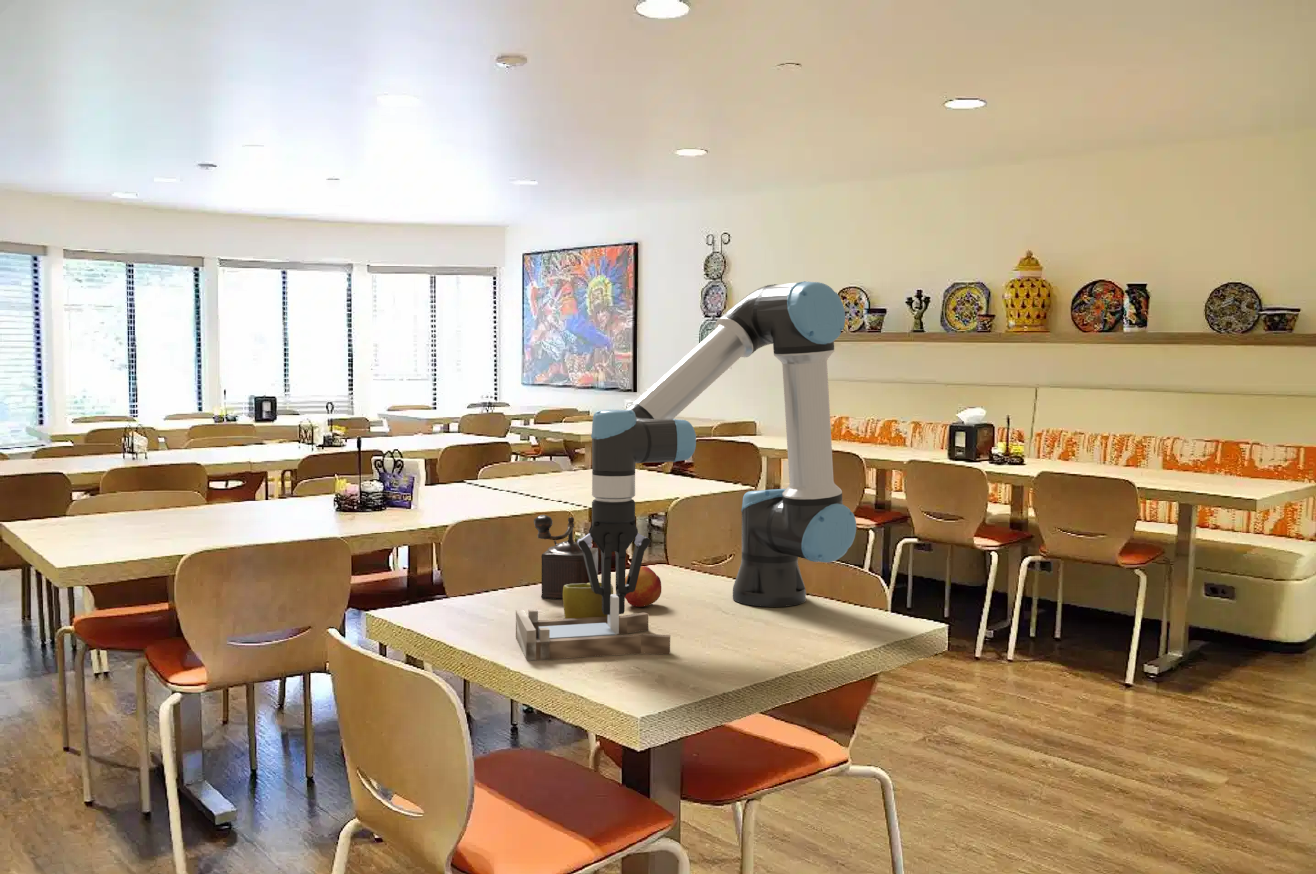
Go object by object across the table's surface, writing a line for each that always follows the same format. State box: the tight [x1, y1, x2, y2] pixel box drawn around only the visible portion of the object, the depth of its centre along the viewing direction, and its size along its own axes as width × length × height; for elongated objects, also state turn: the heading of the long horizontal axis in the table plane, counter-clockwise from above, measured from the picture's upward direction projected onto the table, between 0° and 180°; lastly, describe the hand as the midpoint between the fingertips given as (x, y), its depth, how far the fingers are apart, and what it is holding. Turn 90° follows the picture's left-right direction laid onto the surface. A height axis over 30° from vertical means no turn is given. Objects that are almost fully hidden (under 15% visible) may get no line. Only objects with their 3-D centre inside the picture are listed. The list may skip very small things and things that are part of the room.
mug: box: [562, 581, 614, 619], centre depth 204 cm, size 12×10×10 cm
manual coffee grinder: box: [533, 514, 599, 601], centre depth 228 cm, size 16×11×18 cm
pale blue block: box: [538, 623, 617, 639], centre depth 189 cm, size 12×8×4 cm, turn 105°
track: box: [515, 608, 671, 661], centre depth 191 cm, size 24×18×5 cm
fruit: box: [625, 565, 662, 608], centre depth 221 cm, size 8×8×8 cm
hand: (613, 632), depth 192 cm, fingers closed
